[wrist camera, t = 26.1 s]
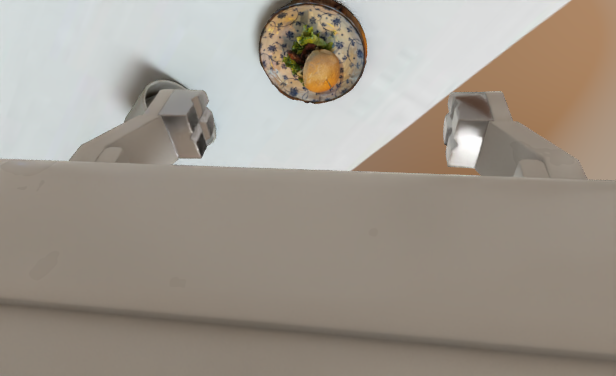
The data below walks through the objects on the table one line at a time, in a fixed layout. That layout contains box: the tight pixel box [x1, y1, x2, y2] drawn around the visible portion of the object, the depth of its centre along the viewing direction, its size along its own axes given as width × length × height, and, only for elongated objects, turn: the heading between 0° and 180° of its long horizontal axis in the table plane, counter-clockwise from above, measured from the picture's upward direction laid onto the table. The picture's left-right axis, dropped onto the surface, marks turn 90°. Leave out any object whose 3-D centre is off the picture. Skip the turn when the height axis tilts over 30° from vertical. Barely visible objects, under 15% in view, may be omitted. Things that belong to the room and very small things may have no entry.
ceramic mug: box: [124, 80, 216, 146], centre depth 52 cm, size 11×8×8 cm
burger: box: [259, 0, 367, 104], centre depth 43 cm, size 12×12×8 cm
